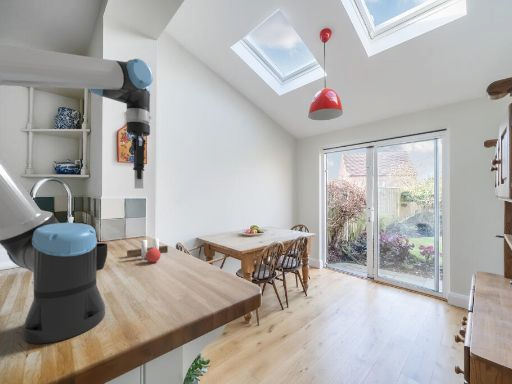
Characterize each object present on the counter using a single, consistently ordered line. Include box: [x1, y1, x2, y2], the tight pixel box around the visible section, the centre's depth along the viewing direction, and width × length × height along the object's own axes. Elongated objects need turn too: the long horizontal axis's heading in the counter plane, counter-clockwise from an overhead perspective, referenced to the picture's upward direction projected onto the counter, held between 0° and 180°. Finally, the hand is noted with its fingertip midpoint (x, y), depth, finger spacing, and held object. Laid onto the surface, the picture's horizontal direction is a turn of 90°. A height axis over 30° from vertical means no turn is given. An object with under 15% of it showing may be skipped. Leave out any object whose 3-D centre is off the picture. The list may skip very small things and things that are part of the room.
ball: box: [145, 248, 162, 263], centre depth 103 cm, size 6×6×6 cm
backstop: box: [126, 245, 169, 259], centre depth 116 cm, size 2×18×3 cm, turn 122°
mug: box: [96, 242, 108, 272], centre depth 96 cm, size 8×12×10 cm
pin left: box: [140, 239, 148, 261], centre depth 108 cm, size 2×2×8 cm
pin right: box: [152, 238, 160, 250], centre depth 111 cm, size 2×2×8 cm
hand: (138, 188), depth 86 cm, fingers closed
